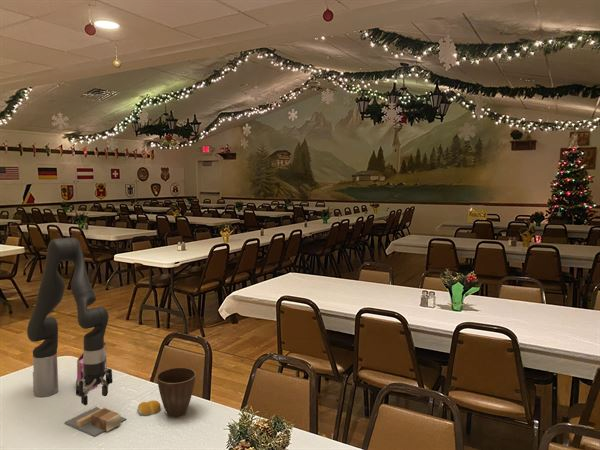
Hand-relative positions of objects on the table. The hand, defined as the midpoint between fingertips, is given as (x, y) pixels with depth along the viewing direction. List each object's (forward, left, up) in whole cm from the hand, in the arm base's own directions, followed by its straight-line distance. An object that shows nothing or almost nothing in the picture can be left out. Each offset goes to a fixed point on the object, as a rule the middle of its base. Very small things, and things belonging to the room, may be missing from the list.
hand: (94, 400), depth 175 cm
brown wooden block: (+2, 0, -6) cm, 6 cm away
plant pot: (+22, +21, -9) cm, 32 cm away
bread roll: (+11, +16, -9) cm, 22 cm away
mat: (0, 0, -9) cm, 9 cm away
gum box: (-35, +24, -9) cm, 44 cm away
